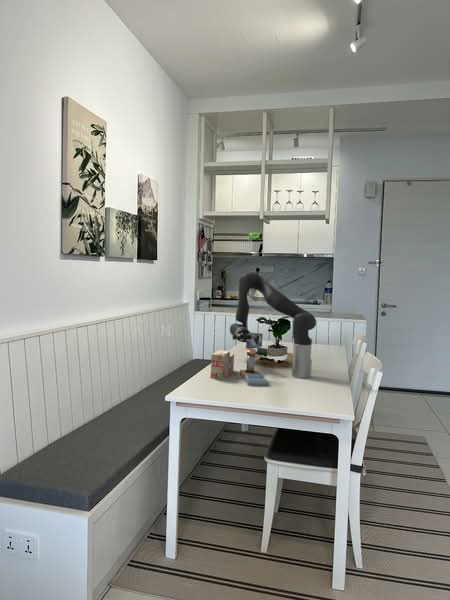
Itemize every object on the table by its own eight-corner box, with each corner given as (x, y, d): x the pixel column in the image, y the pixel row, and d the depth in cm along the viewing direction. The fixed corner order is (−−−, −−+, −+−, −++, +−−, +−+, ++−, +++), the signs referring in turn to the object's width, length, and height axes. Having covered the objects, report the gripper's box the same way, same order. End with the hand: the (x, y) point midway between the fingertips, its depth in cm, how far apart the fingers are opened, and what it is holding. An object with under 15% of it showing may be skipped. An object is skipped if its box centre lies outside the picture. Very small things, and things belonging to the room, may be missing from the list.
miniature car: (279, 363, 280) (280, 350, 279) (253, 359, 289) (253, 346, 289) (286, 361, 287) (287, 348, 287) (260, 357, 297) (260, 344, 296)
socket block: (256, 375, 245) (257, 370, 245) (260, 380, 236) (260, 374, 236) (239, 375, 244) (240, 369, 244) (242, 379, 235) (242, 373, 235)
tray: (263, 380, 235) (263, 374, 235) (266, 385, 226) (267, 379, 226) (244, 380, 234) (245, 374, 234) (247, 385, 225) (248, 379, 225)
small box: (245, 348, 322) (246, 333, 321) (246, 347, 329) (247, 332, 328) (261, 350, 320) (262, 334, 320) (261, 348, 327) (262, 333, 326)
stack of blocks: (222, 369, 256) (223, 347, 255) (233, 370, 254) (234, 348, 253) (210, 378, 235) (211, 353, 235) (222, 379, 234) (223, 355, 233)
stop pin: (253, 376, 243) (255, 349, 242) (255, 378, 238) (256, 351, 237) (244, 376, 242) (246, 349, 241) (246, 378, 238) (247, 351, 237)
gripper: (230, 327, 265) (235, 331, 249) (256, 328, 267) (261, 333, 251) (230, 340, 265) (234, 346, 249) (255, 341, 267) (260, 347, 251)
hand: (247, 339), depth 250 cm, fingers open, 8 cm apart
